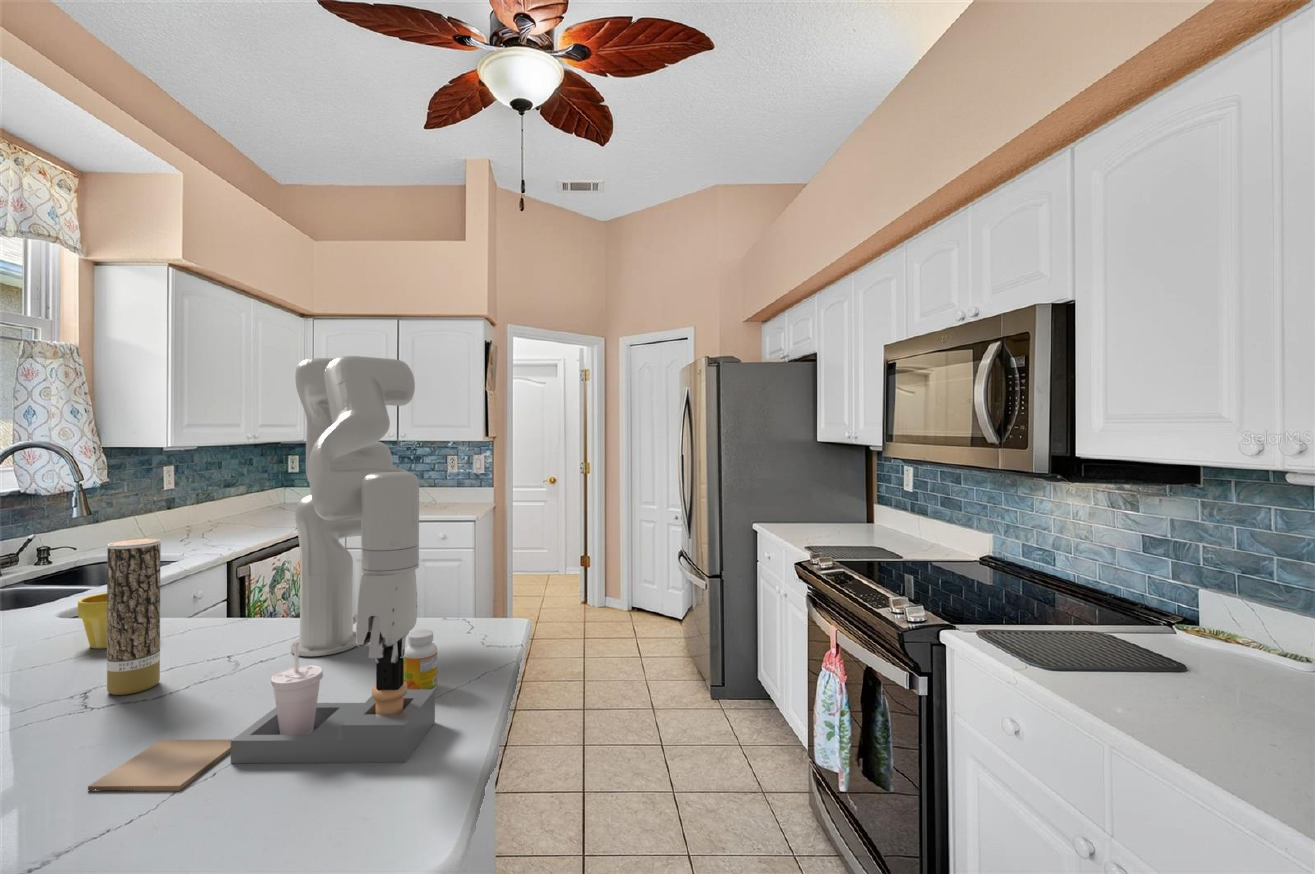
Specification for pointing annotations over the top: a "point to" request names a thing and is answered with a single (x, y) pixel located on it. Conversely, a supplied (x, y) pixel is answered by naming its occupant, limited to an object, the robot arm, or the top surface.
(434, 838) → the top surface
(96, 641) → the plant pot
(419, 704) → the grey holder
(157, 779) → the mat
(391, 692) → the tan mushroom
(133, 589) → the bark pattern canister
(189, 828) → the top surface
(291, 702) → the smoothie
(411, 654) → the supplement bottle
